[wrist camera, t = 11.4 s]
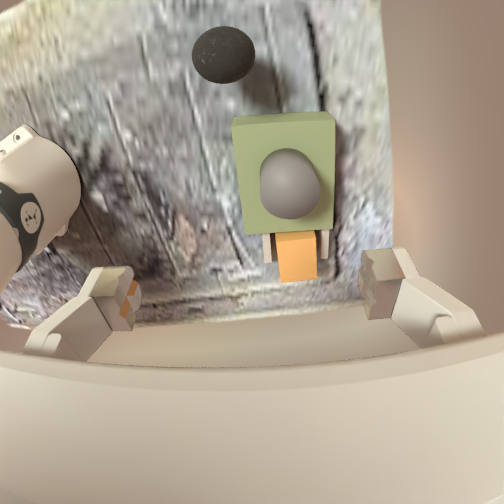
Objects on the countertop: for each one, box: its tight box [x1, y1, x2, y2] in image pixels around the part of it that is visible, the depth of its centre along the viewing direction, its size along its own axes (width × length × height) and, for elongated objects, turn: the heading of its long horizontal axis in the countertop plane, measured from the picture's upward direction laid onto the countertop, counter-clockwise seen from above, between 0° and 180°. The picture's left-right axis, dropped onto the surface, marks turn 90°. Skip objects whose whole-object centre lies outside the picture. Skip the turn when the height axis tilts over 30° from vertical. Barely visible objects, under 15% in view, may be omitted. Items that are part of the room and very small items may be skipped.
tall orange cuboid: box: [275, 230, 317, 283], centre depth 44 cm, size 5×7×5 cm
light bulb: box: [192, 26, 255, 84], centre depth 27 cm, size 6×6×10 cm
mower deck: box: [231, 111, 335, 263], centre depth 38 cm, size 11×20×9 cm, turn 6°
